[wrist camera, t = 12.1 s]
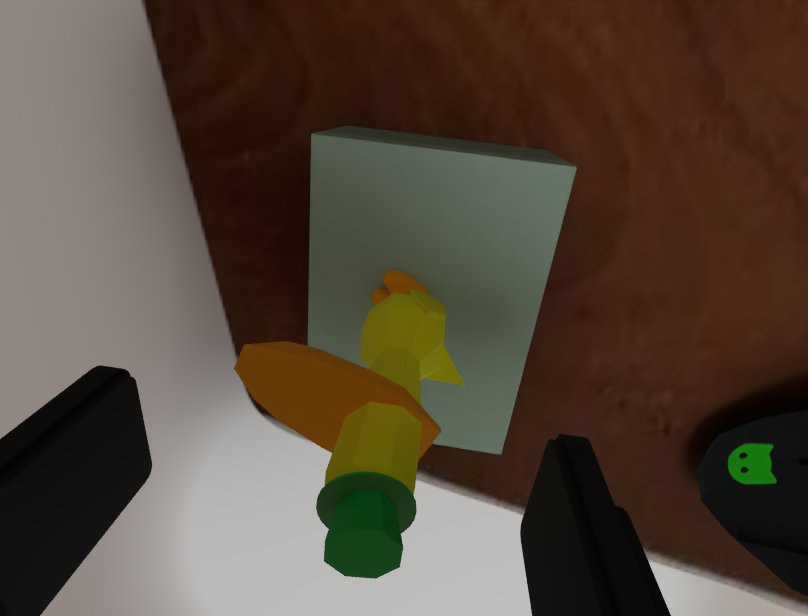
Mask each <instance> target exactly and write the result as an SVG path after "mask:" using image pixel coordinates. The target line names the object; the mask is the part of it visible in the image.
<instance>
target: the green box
mask: <svg viewBox="0 0 808 616" xmlns="http://www.w3.org/2000/svg"><path fill="white" fill-rule="evenodd" d="M576 169H577V167H576V166H574V165H572V164H571V163H569V162H567V161H565V160H563V159H562V158H560V157H558V156H556V155H554V154H553V153H551V152H549V151H547V150H542V149H534V148H526V147H518V146H510V145H502V144H494V143H486V142H477V141H469V140H461V139H453V138H445V137H437V136H429V135H421V134H413V133H405V132H396V131H388V130H380V129H372V128H364V127H356V126H348V125H347V126H343V127H339V128H334V129H330V130H326V131H321V132H317V133H313V134H311V179H310V240H309V302H308V346H309V347H314V348H318V349H321V350H323V351H326V352H328V353H331V354H333V355H336V356H338V357H341V358H343V359H346V360H348V361H350V362H353V363H355V364H358V365H360V366H363V367H365V368H368V369H370V368H369V367H368V366H367V365H366V363H365V362H364V361H363V360H362V359H361V358H360V348H361V336H362V327H363V325H364V323H365V320H366V318H367V315H368V313H369V311H370V309H371V308H373V307H374V306H375V305H374V303H373V302H372V301H371V299H370V298H371V296H372V294H373V292H374V290H376V289H377V288H379V289H387V290H389V289H388V288H387V286H386V285H385V283H384V282H383V280H382V278H383V277H384V275H385V274H386V272H387V271H388V270H389V269H393V270H397V271H402V272H405V273H406V274H408V275H410V276H411V277H413V278H414V279H415V280H416V281H417V282H418V283H419V284H420V285H422V286H423V287H424V288H425V289H426V290H427V291H428V292H429V294H428V295H431V296H433V297H434V298H435V299H437V300H438V301H439V302H441V303H442V304H443V305H444V306H445V312H446V320H445V332H444V344H443V345H444V347H445V349H446V350H447V352H448V354H449V356H450V358H451V360H452V362H453V364H454V366H455V368H456V369H457V371H458V373H459V375H460V377H461V379H462V381H463V383H464V385H465V386H464V385H458V384H453V383H448V382H442V381H437V380H432V379H426V378H424V379H422V380H421V381H420V382H421V396H422V407H423V409H424V410H425V411H426V412H427V413H428V414H429V415H430V416H431V417H432V419H433V420H434V421H435V422H436V423H437V424H438V425H439V426H440V428H441V433H440V434H439V435H438V437H437V438H436V439H435V440H434V442H433V443H432V444H438V445H444V446H450V447H456V448H463V449H469V450H475V451H481V452H488V453H494V454H501V453H502V449H503V445H504V441H505V438H506V434H507V430H508V426H509V422H510V419H511V415H512V411H513V407H514V404H515V400H516V396H517V392H518V388H519V385H520V381H521V377H522V373H523V369H524V366H525V362H526V358H527V354H528V351H529V347H530V343H531V339H532V335H533V332H534V328H535V324H536V320H537V317H538V313H539V309H540V305H541V301H542V298H543V294H544V290H545V286H546V282H547V279H548V275H549V271H550V267H551V264H552V260H553V256H554V252H555V248H556V245H557V241H558V237H559V233H560V230H561V226H562V222H563V218H564V214H565V211H566V207H567V203H568V199H569V196H570V192H571V188H572V184H573V180H574V177H575V173H576Z"/></svg>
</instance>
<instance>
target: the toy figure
mask: <svg viewBox="0 0 808 616" xmlns="http://www.w3.org/2000/svg"><path fill="white" fill-rule="evenodd" d="M382 280H383V282H384V283H385V285H386V286H387V288H388V289H389V290H387V289H379V288H377V289H376V290H374V292H373V294H372V296H371V298H370V299H371V301H372V302H373V303H374V305H375V306H374V307H373V308H371V309H370V311H369V313H368V315H367V318H366V320H365V323H364V325H363V327H362V336H361V348H360V358H361V359H362V360H363V361H364V362H365V363H366V365H367V366H368V367H369V368H370V369H368V368H365V367H363V366H360V365H358V364H355V363H353V362H350V361H348V360H346V359H343V358H341V357H338V356H336V355H333V354H331V353H328V352H326V351H323V350H321V349H318V348H314V347H309V346H305V345H301V344H297V343H292V342H288V341H280V342H269V343H258V344H247V345H244V347H243V349H242V351H241V354H240V356H239V358H238V360H237V362H236V365H235V367H234V369H235V370H236V372H237V374H238V375H239V377H240V378H241V380H242V381H243V383H244V384H245V386H246V387H247V389H248V391H249V392H250V394H251V395H252V397H253V398H254V400H256V401H257V402H258V403H259V404H260V405H261V406H263V407H264V408H265V409H266V410H267V411H268V412H270V413H271V414H272V415H273V416H274V417H275V418H276V419H278V420H279V421H280V422H282V423H283V424H285V425H287V426H288V427H290V428H291V429H293V430H295V431H296V432H298V433H299V434H301V435H303V436H304V437H306V438H307V439H309V440H311V441H312V442H314V443H315V444H317V445H319V446H320V447H322V448H324V449H326V450H328V451H330V452H332V456H331V459H330V462H329V464H328V467H327V470H326V476H325V486H324V488H322V490H321V491H320V493H319V495H318V498H317V506H316V509H317V513H318V516H319V518H320V520H321V521H322V523H324V525H325V526H326V527H327V528H329V531H328V534H327V537H326V540H325V551H324V561H325V562H326V563H327V564H329V565H330V566H332V567H333V568H334V569H336V570H337V571H339V572H340V573H341V574H343V575H344V576H351V577H363V578H378V577H380V576H382V575H384V574H386V573H388V572H390V571H392V570H394V569H397V568H399V567H400V562H401V556H402V551H403V544H402V538H401V533H402V532H404V531H405V530H406V529H407V528H408V527H409V526H410V525H411V524H412V522H413V521H414V519H415V515H416V501H415V499H414V496H413V494H414V488H415V481H416V472H417V463H418V461H419V459H420V458H421V457H422V456H423V454H424V453H425V452H426V450H427V449H428V448H429V447H430V445H431V444H432V443H433V442H434V440H435V439H436V438H437V437H438V435H439V434H440V433H441V428H440V426H439V425H438V424H437V423H436V422H435V421H434V420H433V419H432V417H431V416H430V415H429V414H428V413H427V412H426V411H425V410H424V409H423V407H422V396H421V382H420V381H421V380H422V379H424V378H426V379H432V380H437V381H442V382H448V383H453V384H458V385H464V383H463V381H462V379H461V377H460V375H459V373H458V371H457V369H456V368H455V366H454V364H453V362H452V360H451V358H450V356H449V354H448V352H447V350H446V349H445V347H444V345H443V344H444V332H445V320H446V312H445V306H444V305H443V304H442V303H441V302H439V301H438V300H437V299H435V298H434V297H433V296H431V295H428V294H429V292H428V291H427V290H426V289H425V288H424V287H423V286H422V285H420V284H419V283H418V282H417V281H416V280H415V279H414V278H413V277H411V276H410V275H408V274H406V273H405V272H402V271H397V270H393V269H389V270H388V271H387V272H386V274H385V275H384V277H383V278H382ZM464 386H465V385H464Z"/></svg>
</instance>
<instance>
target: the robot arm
mask: <svg viewBox="0 0 808 616" xmlns="http://www.w3.org/2000/svg"><path fill="white" fill-rule="evenodd" d="M151 469H152V461H151V456H150V450H149V445H148V440H147V435H146V431H145V425H144V420H143V415H142V409H141V405H140V399H139V394H138V389H137V384H136V380H135V379H134V378H133V377H131V376H130V373H129V372H128V371H127V370H125V369H121V368H114V367H107V366H96V367H95V368H93V369H91V370H90V371H88V372H87V373H86V374H85V375H83V376H82V377H81V378H79V379H78V380H77V381H75V383H73V384H72V385H70V386H69V387H68V388H66V389H65V390H64V391H62V392H61V393H60V394H59V395H57V396H56V397H55V398H53V399H52V400H51V401H49V402H48V403H47V404H45V405H44V406H43V407H42V408H40V409H39V410H38V411H36V412H35V413H34V414H32V415H31V416H30V417H29V418H27V419H26V420H25V421H23V422H22V423H21V424H19V425H18V426H17V427H16V428H14V429H13V430H12V431H10V432H9V433H8V434H6V435H5V436H4V437H2V438H1V439H0V616H40V615H41V614H42V613H43V611H44V610H45V609H46V607H47V606H48V605H49V603H50V602H51V601H52V600H53V599H54V597H55V596H56V595H57V593H58V592H59V591H60V590H61V588H62V587H63V586H64V585H65V583H66V582H67V581H68V579H69V578H70V577H71V576H72V574H73V573H74V572H75V571H76V569H77V568H78V567H79V566H80V564H81V563H82V562H83V560H84V559H85V558H86V557H87V555H88V554H89V553H90V552H91V550H92V549H93V548H94V546H95V545H96V544H97V542H98V541H99V540H100V539H101V538H102V536H103V535H104V534H105V532H106V531H107V530H108V529H109V527H110V526H111V525H112V524H113V522H114V521H115V520H116V519H117V517H118V516H119V515H120V513H121V512H122V511H123V510H124V508H125V507H126V506H127V505H128V503H129V502H130V501H131V500H132V498H133V497H134V496H135V494H136V493H137V492H138V491H139V489H140V488H141V487H142V485H143V484H144V483H145V482H146V480H147V479H148V477H149V475H150V473H151ZM520 535H521V544H522V551H523V558H524V564H525V571H526V577H527V584H528V591H529V597H530V604H531V610H532V616H671V615H670V613H669V610H668V608H667V605H666V603H665V601H664V598H663V596H662V594H661V591H660V589H659V586H658V584H657V581H656V579H655V577H654V574H653V572H652V569H651V567H650V565H649V562H648V560H647V557H646V555H645V553H644V550H643V548H642V545H641V543H640V541H639V538H638V536H637V533H636V531H635V528H634V526H633V524H632V521H631V519H630V517H629V515H628V513H627V512H626V511H625V510H624V509H623V508H622V507H617V506H615V505H614V502H613V500H612V497H611V495H610V492H609V490H608V487H607V484H606V482H605V479H604V477H603V474H602V472H601V469H600V467H599V464H598V461H597V459H596V456H595V454H594V451H593V449H592V446H591V444H590V442H589V440H588V439H587V438H585V437H578V436H572V435H565V434H559V435H558V436H557V439H556V440H552V439H550V440H549V441H548V443H547V446H546V449H545V452H544V455H543V458H542V461H541V464H540V467H539V470H538V473H537V476H536V479H535V482H534V485H533V488H532V492H531V495H530V498H529V501H528V504H527V507H526V510H525V513H524V516H523V519H522V523H521V533H520Z"/></svg>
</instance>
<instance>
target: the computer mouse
mask: <svg viewBox="0 0 808 616" xmlns="http://www.w3.org/2000/svg"><path fill="white" fill-rule="evenodd" d="M696 470H697V476H698V482H699V488H700V494H701V500H702V502H703V503H704V504H705V506H706V507H707V508H708V509H709V510H710V511H711V513H712V514H713V515H714V516H715V517H716V519H717V520H718V521H719V522H720V523H721V525H722V526H723V527H724V528H725V529H726V530H727V532H728V533H729V534H730V535H732V536H733V537H734V538H735V539H736V540H737V541H738V542H739V543H740V544H741V545H743V546H744V547H745V548H746V549H747V550H748V551H749V552H751V553H752V554H753V555H754V556H755V557H756V558H757V559H758V560H760V561H761V562H762V563H763V564H764V565H765V566H766V567H767V568H769V569H770V570H771V571H772V572H773V573H774V574H775V575H777V576H778V577H779V578H780V579H781V580H782V581H783V582H784V583H786V584H787V585H788V586H789V587H790V588H791V589H793V590H795V591H797V592H799V593H801V594H804V595H806V596H808V399H807V400H801V401H796V402H792V403H787V404H783V405H779V406H775V407H770V408H766V409H762V410H760V411H757V412H755V413H753V414H751V415H748V416H746V417H744V418H741V419H739V420H737V421H734V422H732V423H730V424H728V425H726V426H724V427H722V428H720V429H719V430H718V431H717V432H716V433H715V434H714V436H713V437H712V439H711V441H710V443H709V445H708V447H707V449H706V451H705V453H704V455H703V457H702V459H701V461H700V463H699V465H698V467H697V469H696Z"/></svg>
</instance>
